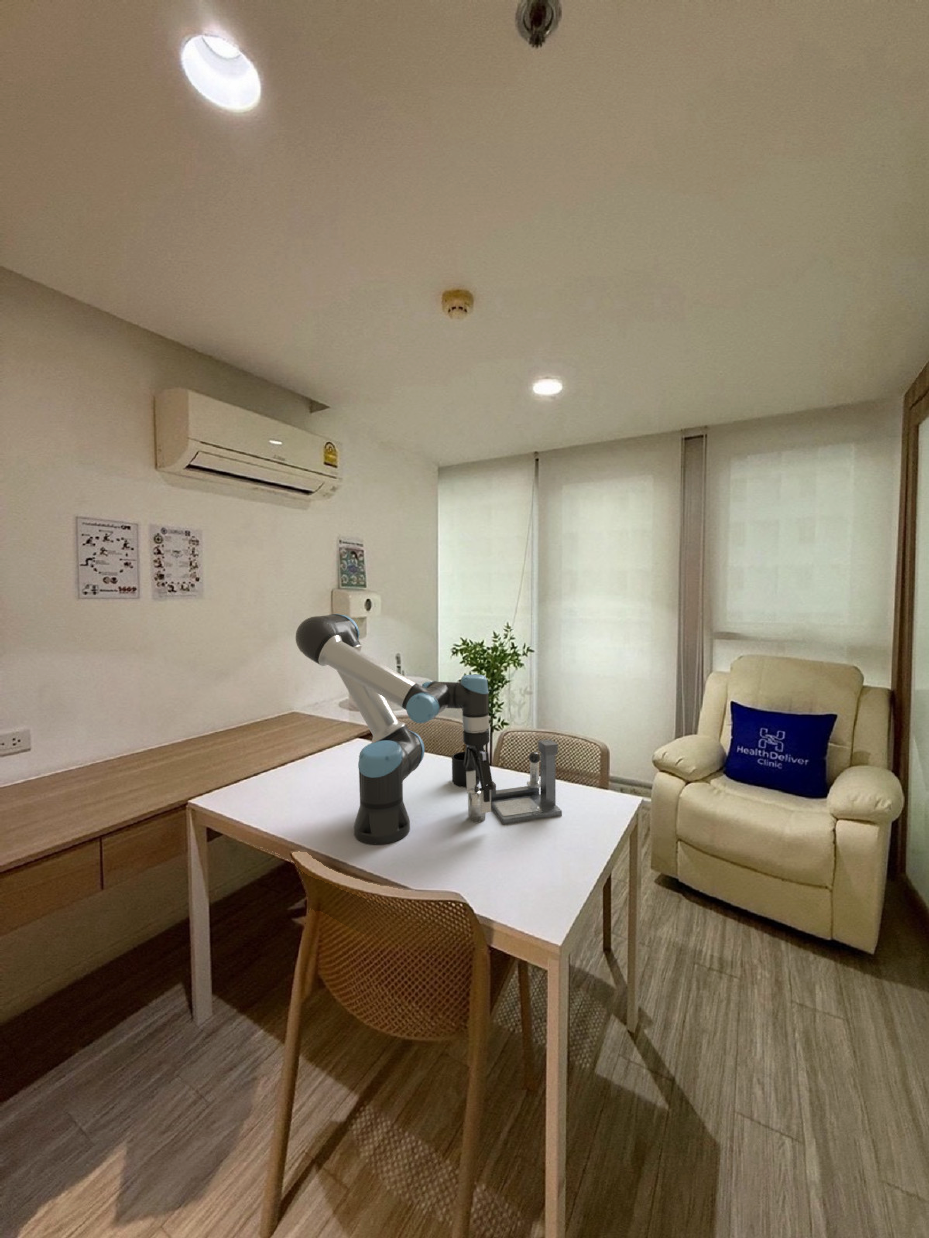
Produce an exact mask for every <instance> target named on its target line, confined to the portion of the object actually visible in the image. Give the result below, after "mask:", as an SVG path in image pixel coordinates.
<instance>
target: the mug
mask: <svg viewBox="0 0 929 1238" xmlns="http://www.w3.org/2000/svg"><path fill="white" fill-rule="evenodd" d="M464 758H465V751H460V752H459V751H458V752H456V753H454V754H452V756H451V768H452V769H451V775H452V776H451V781H452V783H453V785H455V786H456V787H461V788H462V787H463V788H467V781H466V772H467V771H466V769H465V767H464ZM473 771H474V770H473ZM475 771H476V785H479V784H480V780H479V775H478V771H477V767H476V770H475Z"/></svg>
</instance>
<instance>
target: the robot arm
mask: <svg viewBox="0 0 929 1238" xmlns="http://www.w3.org/2000/svg"><path fill="white" fill-rule="evenodd" d="M359 638H360V630H359V627H358V625H357V623H356V622H355V621H354V619H353V618H351V617H350V616H348V615H345V614H339V613H332V614H328V615H315V616H310V617H308V618H306V619H304V620H303V621H302V622H300V624H299V625H298V627H297V629H296V632H295V644H296V646H297V647H298V649H299V651H300V652H301V653H302V654H303V655H304V656H306V657H307V658H308V659H309V660H311V661H313V662H314V663H316V664H318V665H319V666H321V667H325V666H328V667H331V668H333V669H334V670H336V672H337V673H338V675H339V677H340V678H341V681H342V682H343V684H344V686H345V688H346V689H347V691H348V693H349V695H350V697H351V699H352V700H353V702H354V704H355V706H356V708H357V710H358V711H359V713H360V715H361V716H362V718H363V720H364V722H365V724H366V725H367V728H368V729H369V731H370V732H371V734H372V739H371V742H370V743H368V744H367V745H365V746H364V747H363V748H362V749H361V750H360V752H359V755H358V765H357V766H358V767H357V768H358V779H359V780H358V784H359V785H358V786H359V807H358V812H357V814H356V818H355V821H354V823H353V824H354V825H353V832H354V834H353V835H354V837H355V838H356V840H357V841H359V842H361V843H364V844H366V845H367V844H368V845H387V844H391V843H395V842H397V841H400V840H401V839H403V838H405V837H406V836H407V835H408V834H409V833H410V831H411V823H410V822H411V821H410V817H409V814H408V811H407V808H406V806H405V803H404V795H403V794H404V792H403V790H404V787H403V786H404V785H403V783H404V781H405V780H406V779H407V777H408V776H410V774H411V773H413V772H415V770H416V769H418V767H419V766H420V764H421V763H422V761H423V759H424V757H425V744H424V741H423V739H422V738H421V736H420V735H419V734H418V733H416V732H414V731H412V730H410V729H409V727H408V725H407V723H406V722H403V721H400V720H398V718H397V716H396V714H395V712H394V710H393V709H392V706H391V705H390V704H389V702H392V703H393V704H396V705H397V706H399V707H400V708H402V709H404V710H405V711H406V713H407V715H408V717H409V719H410V720H411V721H412V722H414V723H417V724H425V723H427V722H429V721H432V720H433V719H435V718H436V717H437V715H439V714H440V713H441V712H443V711H445V710H446V709H461V713H462V715H461V716H462V718H461V719H462V729H463V731H462V739H463V741H462V742H463V744H465V750H464V752H465V758H464V767H465V769H466V771H467V772H466V781H467V787H466V794H467V795H468V790H469V789H471V788H475V785H476V771H475V770H476V767H477V771H478V775H479V780H480V781H479V784H480V787H479V788H480V789H479V791H480V799H481V813H491V812H492V809H491V792H490V790H493V789H494V787H493V782H494V781H493V778H492V773H491V772H492V771H491V767H490V766H491V765H490V764H491V763H490V757H489V756H490V755H489V752H488V751H486V750H485V746H486V745H488V744H489V743H490V741H491V740H490V739H491V738H490V730H489V728H490V720H491V716H490V715H489V713H490V712H489V688H488V687H489V686H488V678H487V677H486V675H484V674H476V673H474V674H466V675H462V677H460V678H461V679H460V681H457V682H455V681H437V680H433V681H425V682H423V683H422V685H421V684H418V682H415V681H414V680H412V679H410V678H408V677H406V676H404V675H403V674H401V673H400V672H398V671H395V669H393V668H390V667H388V666H387V665H385V664H384V663H381V662H380V661H378V660H376V659H375V658H373V657H371V656H369V655H367V654H365V653H364V652H362V651H361V650H362V647H363V646H362V643H361V642H360V639H359ZM388 701H389V702H388ZM473 770H474V771H473ZM492 781H493V782H492Z"/></svg>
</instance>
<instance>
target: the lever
mask: <svg viewBox="0 0 929 1238" xmlns="http://www.w3.org/2000/svg"><path fill="white" fill-rule="evenodd" d="M528 761H529V776H530V777H529V781H526V786H529V787H530V788H531V789H532V788H539V789H541V783H540V754H539V752H537V751H532V752H530V753H529V755H528Z"/></svg>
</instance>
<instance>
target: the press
mask: <svg viewBox="0 0 929 1238" xmlns="http://www.w3.org/2000/svg"><path fill="white" fill-rule="evenodd" d="M558 748H559V744H558V743H557V742H555V741H553V740H552V739H550V738H548V739H541V740H538V741H537V750H538V752H540V754H539V755H540V761H539V781H540V783H541V787H540V788H532V789H531V788H530V787H529V786H528V785H526V786H519V787H511V788H503V789H497V785H496V782H495V781H494V780H492V782H493V787H494V789H493V790H490V792H491V811H492V812H494V814H495V815H496V816H497V818H498V819H499V821H501V823H502V825H504V826H505V825H511V824H517V823H522V822H523V823H524V822H529V821H535V820H541V819H542V820H543V819H548V818H554V817H555V818H556V817H560V816H562V815H563V810H562V809H561V808H560V807H558V805H556V800H557V799H556V798H557V797H556V794H557V793H556V755H558V754H559V753H558V752H559V749H558Z"/></svg>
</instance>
